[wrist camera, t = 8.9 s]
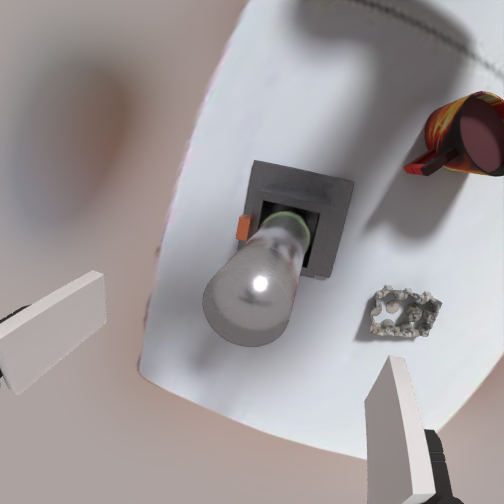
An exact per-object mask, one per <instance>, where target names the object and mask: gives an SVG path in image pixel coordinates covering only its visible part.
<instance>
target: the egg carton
mask: <svg viewBox="0 0 504 504" xmlns="http://www.w3.org/2000/svg"><path fill="white" fill-rule="evenodd" d="M390 292H392V293H393V294H394V296H395V298H396V299H399V300H403V301H404V300H405V299H406V298H407V296H408V294H410V296H413V297H414V299H415V301H416V302H417V303H419V304H425V303H426V302H428V300H430V301H431V303H432V305H430V306H428V307H426V308H425V309H424V311H423V316H424V317H425V319H426V323H425V324H422V325H420V326H419V327H418V328H417V329H413V327H412V325H411V323H410V322H416V321H418V320H419V319H420V317H421V316H422V314H421V311H420V309H419V307H418V306H417V304H415V303H411V304H409V305H407V306H406V308H405V313H406V315H407V318H408V322H403V323H402V324H401V325H400V326H395V325H394V323H393V321H392V320H390V319H385V320H383V321H382V322H381V324H377V323H375V320H374V318H373V316H377V315H378V314H379V313H380V312H381V311H382V306H381V303H380V301H379V299H380V298H384V297H385V295H387V294H388V293H390ZM375 298H376V301H377V302H376V307H373V309H372V310H371V312H370V319H371V322H372V325H371V329H370V332H371V333H372V334H376V335H382V336H388V335H393V336H403V337H415V336H416V337H418V336H423V337H427V336H428V335H429V331H430V329H432V327H433V323H434V321H435V319H436V317H437V315H438V311H439V309H440V307H441V305H442V302H440V301H438V300H437V299H434V298H433V296H432V295H431V293H430V292H426V291H425V292H424V293H423V294H422V295H421V296H420V295H418V294H415V293H413V292H412V290H411V289H408V288H405V290H404V291H402V290H393V288H392V286H390V285H385V287H384V288H383V289H382V290H380V291H377V292H376V295H375ZM378 298H379V299H378ZM398 309H399V303H398V302H397V301H395V300H393V301H390V302H388V303H387V305H386V310H387V311H388V312H389V313H395V312H397V311H398Z"/></svg>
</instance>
